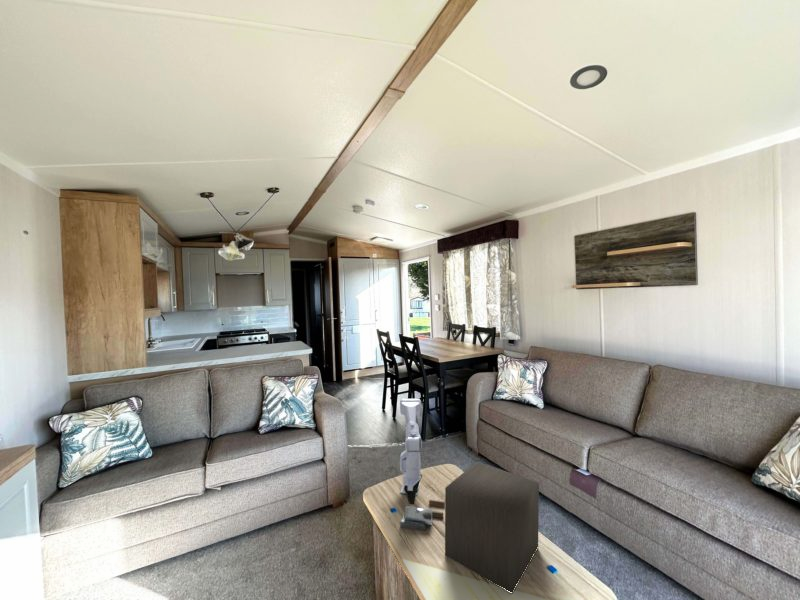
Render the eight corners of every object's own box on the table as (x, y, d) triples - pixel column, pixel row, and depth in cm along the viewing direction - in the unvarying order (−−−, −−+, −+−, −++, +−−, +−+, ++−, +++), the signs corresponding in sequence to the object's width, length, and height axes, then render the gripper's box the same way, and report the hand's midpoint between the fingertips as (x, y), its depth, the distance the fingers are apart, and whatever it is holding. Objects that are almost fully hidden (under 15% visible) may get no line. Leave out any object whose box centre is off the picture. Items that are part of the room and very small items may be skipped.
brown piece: (429, 503, 153) (429, 499, 153) (444, 505, 152) (444, 501, 152) (426, 515, 145) (426, 511, 145) (443, 518, 144) (443, 513, 144)
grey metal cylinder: (404, 524, 139) (404, 512, 139) (406, 513, 145) (406, 502, 144) (431, 528, 137) (430, 516, 136) (432, 517, 142) (432, 506, 141)
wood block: (477, 519, 143) (477, 461, 142) (538, 548, 127) (538, 482, 126) (445, 555, 124) (445, 487, 123) (512, 594, 107) (512, 517, 107)
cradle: (404, 513, 147) (404, 508, 147) (427, 516, 145) (427, 511, 145) (400, 527, 138) (400, 521, 138) (424, 530, 136) (424, 525, 136)
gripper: (407, 456, 149) (407, 487, 149) (400, 473, 135) (400, 507, 135) (423, 458, 147) (423, 489, 148) (417, 475, 133) (417, 509, 134)
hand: (413, 498), depth 141 cm, fingers open, 7 cm apart
